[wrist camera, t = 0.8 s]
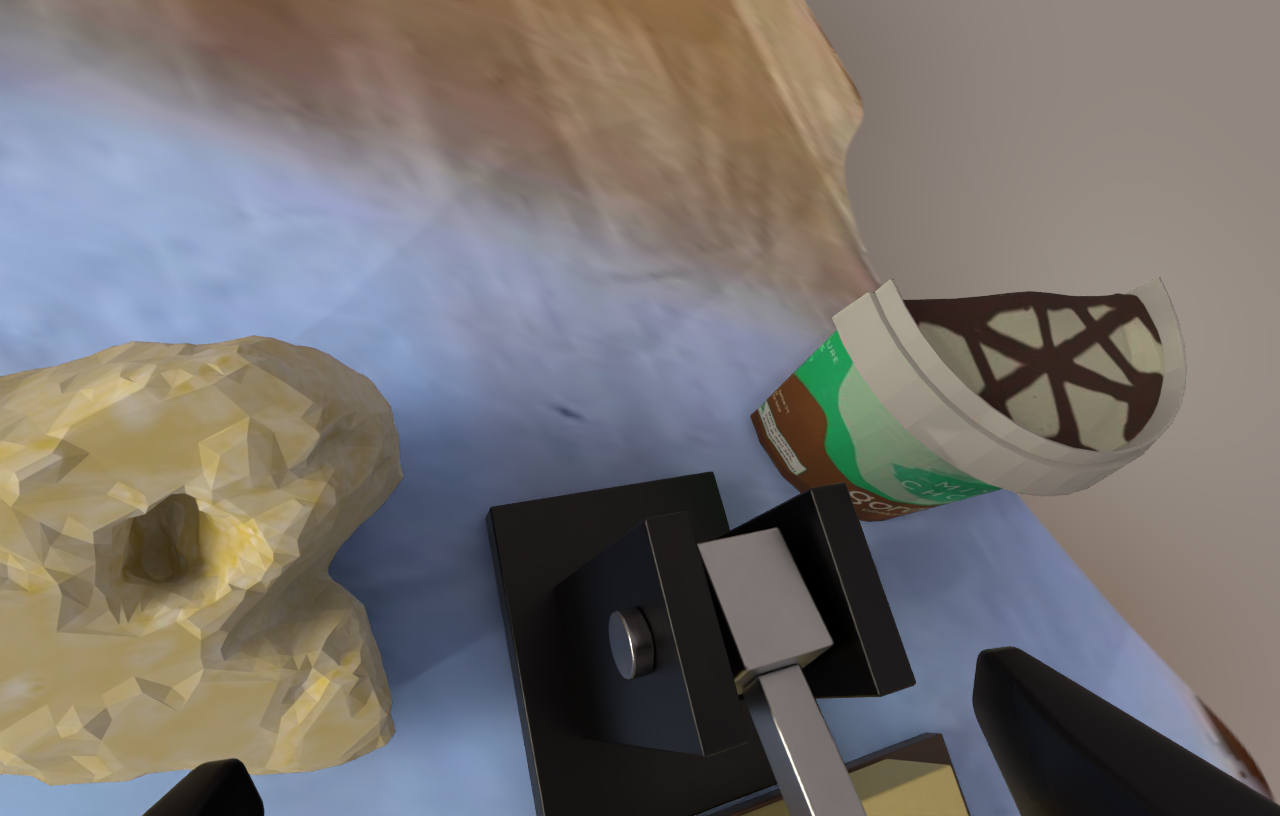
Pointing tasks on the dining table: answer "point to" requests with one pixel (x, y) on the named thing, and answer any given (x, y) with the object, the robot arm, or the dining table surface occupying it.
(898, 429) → the food container
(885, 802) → the butter
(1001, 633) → the dining table surface
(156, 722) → the cheese
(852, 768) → the butter board
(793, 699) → the grey brown t-shaped piece
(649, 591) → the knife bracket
